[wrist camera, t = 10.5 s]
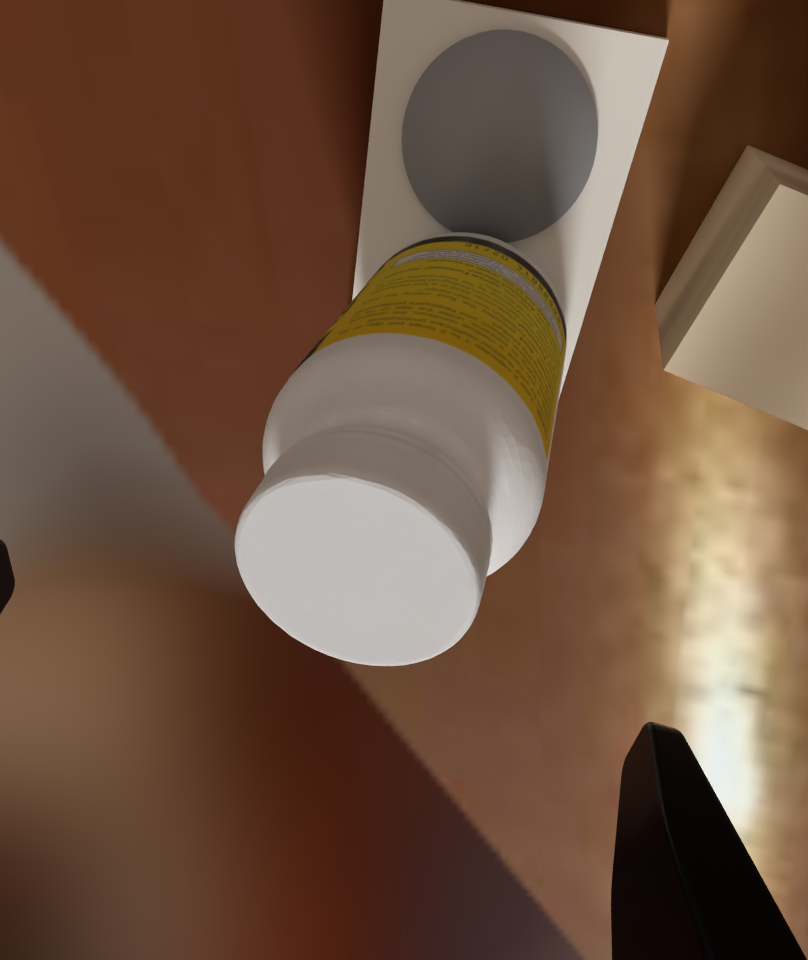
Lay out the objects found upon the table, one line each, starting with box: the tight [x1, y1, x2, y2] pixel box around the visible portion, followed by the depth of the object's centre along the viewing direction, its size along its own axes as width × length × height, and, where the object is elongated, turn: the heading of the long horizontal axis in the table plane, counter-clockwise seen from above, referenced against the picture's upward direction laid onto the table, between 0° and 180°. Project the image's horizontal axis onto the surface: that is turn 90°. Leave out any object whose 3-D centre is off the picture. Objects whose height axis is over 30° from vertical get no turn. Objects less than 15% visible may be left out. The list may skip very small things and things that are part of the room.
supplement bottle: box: [235, 232, 567, 666], centre depth 15 cm, size 5×5×10 cm
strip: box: [352, 0, 669, 397], centre depth 19 cm, size 6×14×1 cm, turn 172°
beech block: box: [655, 145, 808, 430], centre depth 16 cm, size 4×4×4 cm
